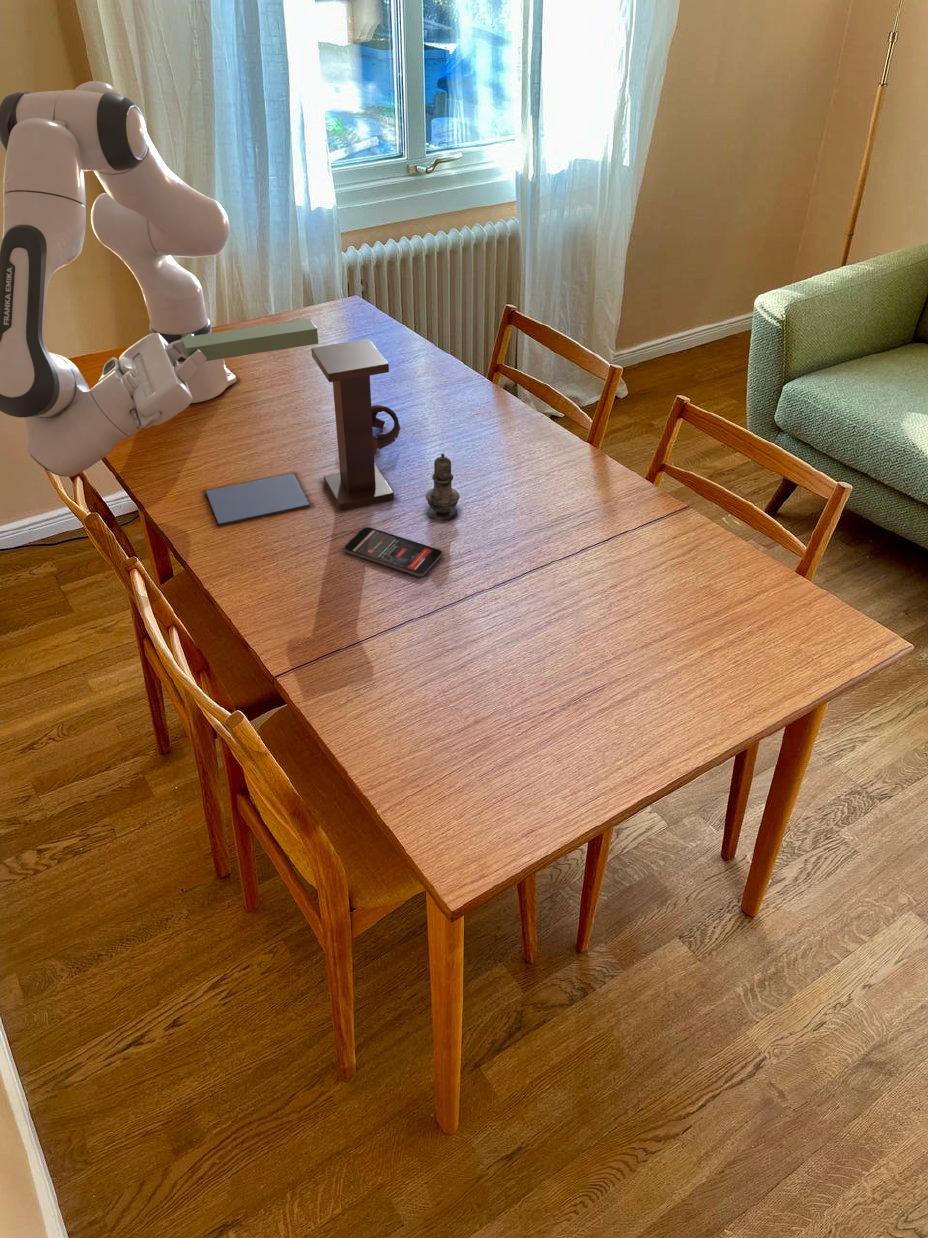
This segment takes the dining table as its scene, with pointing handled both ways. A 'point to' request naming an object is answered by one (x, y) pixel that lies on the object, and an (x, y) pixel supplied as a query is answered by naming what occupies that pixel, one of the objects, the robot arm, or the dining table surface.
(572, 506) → the dining table surface
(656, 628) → the dining table surface
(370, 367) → the stand
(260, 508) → the blue-grey flat rectangular plate
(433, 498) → the salt shaker
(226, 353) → the bar
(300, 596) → the dining table surface
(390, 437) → the pottery mug
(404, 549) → the smartphone
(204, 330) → the robot arm
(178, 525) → the dining table surface
